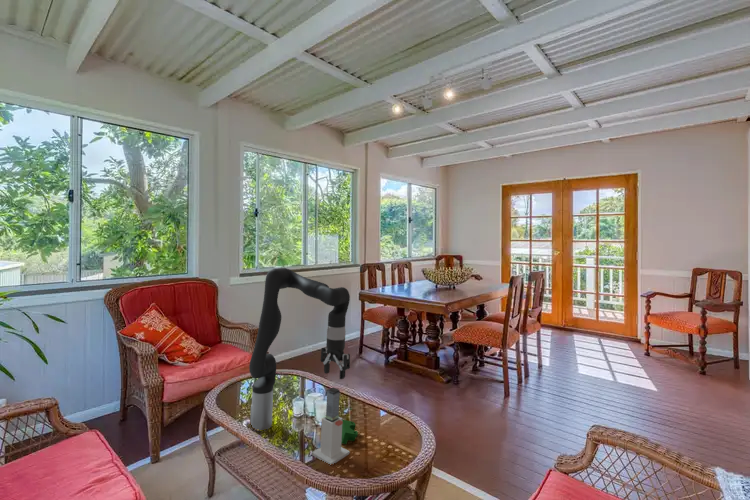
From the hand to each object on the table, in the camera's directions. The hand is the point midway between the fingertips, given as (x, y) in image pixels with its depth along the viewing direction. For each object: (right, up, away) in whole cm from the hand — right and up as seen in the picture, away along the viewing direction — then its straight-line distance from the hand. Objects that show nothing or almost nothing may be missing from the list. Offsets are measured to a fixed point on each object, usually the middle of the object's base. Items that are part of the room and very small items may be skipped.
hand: (334, 375), depth 150 cm
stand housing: (-2, -33, +1) cm, 33 cm away
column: (-1, -26, +1) cm, 26 cm away
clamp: (+5, -33, +14) cm, 36 cm away
